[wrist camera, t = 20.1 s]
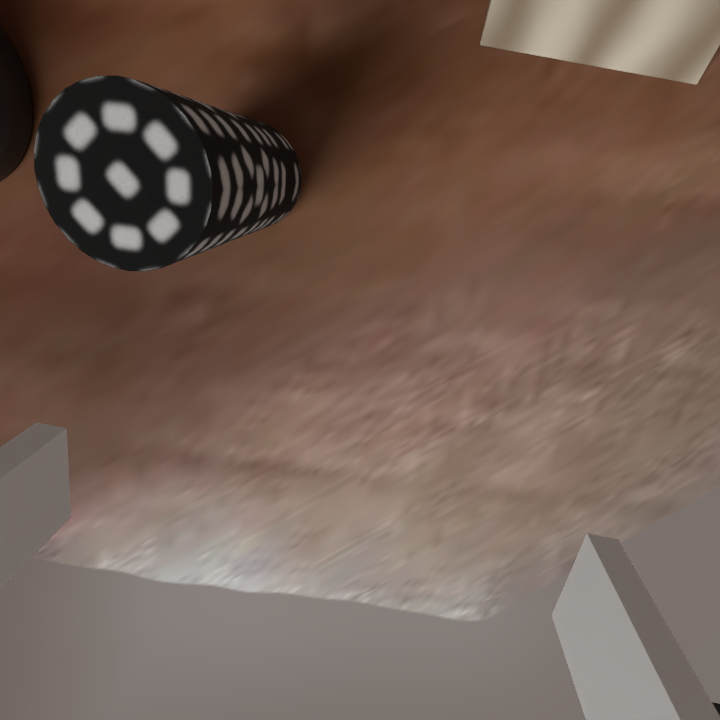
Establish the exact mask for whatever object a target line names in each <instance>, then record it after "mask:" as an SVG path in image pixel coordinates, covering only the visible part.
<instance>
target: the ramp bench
mask: <svg viewBox="0 0 720 720" xmlns="http://www.w3.org/2000/svg"><path fill="white" fill-rule="evenodd" d="M480 45H483V46H488V47H494V48H499V49H504V50H510V51H515V52H521V53H526V54H532V55H537V56H543V57H548V58H554V59H559V60H565V61H570V62H575V63H581V64H586V65H592V66H597V67H603V68H608V69H614V70H619V71H625V72H630V73H636V74H641V75H646V76H652V77H657V78H663V79H668V80H674V81H679V82H685V83H690V84H696V85H697V83H698V82H699V80H700V78H701V76H702V75H703V73H704V71H705V69H706V68H707V66H708V64H709V62H710V61H711V59H712V57H713V56H714V54H715V52H716V50H717V49H718V47H719V45H720V0H490V2H489V7H488V11H487V16H486V20H485V24H484V29H483V33H482V38H481V42H480Z"/></svg>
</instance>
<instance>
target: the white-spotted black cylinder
mask: <svg viewBox="0 0 720 720" xmlns="http://www.w3.org/2000/svg"><path fill="white" fill-rule="evenodd" d="M34 168H35V174H36V179H37V183H38V188H39V191H40V193H41V196H42V199H43V201H44V204H45V206H46V208H47V210H48V212H49V213H50V215H51V217H52V218H53V220H54V222H55V223H56V225H57V226H58V227H59V228H60V230H61V231H62V232H63V233H64V235H65V236H66V237H67V238H68V239H69V240H70V241H71V242H72V243H73V244H74V245H75V246H77V247H78V248H79V249H80V250H81V251H83V252H84V253H86V254H87V255H89V256H90V257H92V258H93V259H95V260H97V261H99V262H101V263H104V264H106V265H108V266H111V267H114V268H118V269H122V270H127V271H149V270H155V269H160V268H163V267H165V266H168V265H170V264H173V263H176V262H178V261H181V260H183V259H186V258H188V257H191V256H194V255H196V254H199V253H201V252H204V251H206V250H209V249H211V248H214V247H217V246H219V245H222V244H224V243H227V242H229V241H232V240H235V239H237V238H240V237H242V236H245V235H247V234H250V233H253V232H255V231H258V230H260V229H263V228H265V227H268V226H270V225H273V224H275V223H277V222H279V221H280V220H281V219H283V218H284V217H285V216H286V215H287V214H288V213H289V212H290V211H291V209H292V208H293V206H294V204H295V203H296V201H297V198H298V195H299V192H300V185H301V171H300V166H299V162H298V159H297V157H296V154H295V152H294V150H293V148H292V147H291V145H290V144H289V142H288V141H287V140H286V139H285V138H284V137H283V136H282V135H281V134H280V133H279V132H278V131H276V130H275V129H273V128H272V127H270V126H268V125H265V124H263V123H260V122H257V121H255V120H252V119H249V118H246V117H243V116H240V115H237V114H234V113H231V112H228V111H225V110H222V109H219V108H216V107H214V106H211V105H208V104H205V103H202V102H199V101H196V100H193V99H190V98H187V97H184V96H181V95H178V94H175V93H173V92H170V91H167V90H164V89H161V88H158V87H155V86H152V85H149V84H146V83H143V82H140V81H137V80H134V79H130V78H125V77H121V76H95V77H91V78H87V79H83V80H80V81H78V82H76V83H75V84H73V85H71V86H69V87H67V88H65V89H64V90H63V91H62V92H61V93H60V94H59V95H58V96H57V97H56V98H55V99H54V100H53V101H52V102H51V104H50V105H49V107H48V108H47V110H46V111H45V113H44V114H43V117H42V119H41V122H40V125H39V127H38V130H37V134H36V140H35V147H34Z"/></svg>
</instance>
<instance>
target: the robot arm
mask: <svg viewBox="0 0 720 720" xmlns="http://www.w3.org/2000/svg"><path fill="white" fill-rule="evenodd" d="M31 130H32V101H31V94H30V90H29V85H28V82H27V78H26V75H25V72H24V69H23V67H22V64H21V62H20V60H19V58H18V56H17V54H16V52H15V50H14V48H13V46H12V45H11V43H10V41H9V40H8V38H7V37H6V35H5V34H4V33H3V31H2V30H1V29H0V181H1V180H3V179H4V178H6V177H7V176H8V175H9V174H10V173H11V172H12V171H13V170H14V169H15V168H16V167H17V166H18V164H19V163H20V161H21V160H22V158H23V156H24V154H25V152H26V149H27V146H28V144H29V140H30V135H31ZM70 517H71V510H70V489H69V468H68V447H67V428H62V427H57V426H52V425H47V424H42V423H35V424H34V425H33V426H31V427H30V428H28V429H27V430H25V431H24V432H22V433H21V434H19V435H18V436H16V437H15V438H13V439H12V440H10V441H9V442H7V443H6V444H4V445H3V446H1V447H0V589H1V588H2V587H3V586H4V585H5V584H6V583H7V582H8V581H9V580H10V579H11V578H12V577H13V576H14V575H15V574H16V573H17V572H18V571H19V570H20V569H21V567H23V566H24V565H25V564H26V562H27V561H28V560H29V559H30V558H31V557H32V556H33V555H34V554H35V553H36V552H37V551H38V550H39V549H40V548H41V547H42V546H43V545H44V544H45V543H46V542H47V541H48V540H49V539H50V538H51V537H52V536H53V535H54V534H55V533H56V532H57V531H58V530H59V529H60V528H61V527H62V526H63V525H64V524H65V522H66V521H67V520H68V519H69V518H70ZM552 618H553V621H554V624H555V627H556V629H557V633H558V636H559V639H560V642H561V645H562V648H563V651H564V654H565V657H566V660H567V663H568V666H569V669H570V673H571V676H572V679H573V682H574V685H575V688H576V691H577V694H578V697H579V700H580V703H581V706H582V709H583V712H584V715H585V718H586V720H720V704H717V703H713V702H711V700H710V698H709V696H708V695H707V693H706V691H705V690H704V688H703V686H702V684H701V683H700V681H699V679H698V677H697V676H696V674H695V672H694V671H693V669H692V667H691V665H690V664H689V662H688V660H687V658H686V657H685V655H684V653H683V651H682V650H681V648H680V646H679V644H678V643H677V641H676V639H675V637H674V636H673V634H672V632H671V631H670V629H669V627H668V625H667V624H666V622H665V620H664V619H663V617H662V615H661V613H660V612H659V610H658V608H657V607H656V605H655V603H654V601H653V599H652V598H651V596H650V594H649V593H648V591H647V589H646V587H645V586H644V584H643V582H642V580H641V579H640V577H639V575H638V573H637V572H636V570H635V568H634V566H633V565H632V563H631V561H630V559H629V558H628V556H627V554H626V552H625V551H624V549H623V547H622V546H621V544H620V542H619V540H618V539H613V538H608V537H603V536H598V535H593V534H588V533H587V534H586V537H585V539H584V541H583V544H582V546H581V548H580V551H579V553H578V555H577V558H576V560H575V562H574V565H573V567H572V569H571V572H570V574H569V576H568V579H567V582H566V583H565V586H564V588H563V590H562V593H561V595H560V598H559V600H558V602H557V604H556V607H555V609H554V611H553V614H552Z"/></svg>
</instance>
